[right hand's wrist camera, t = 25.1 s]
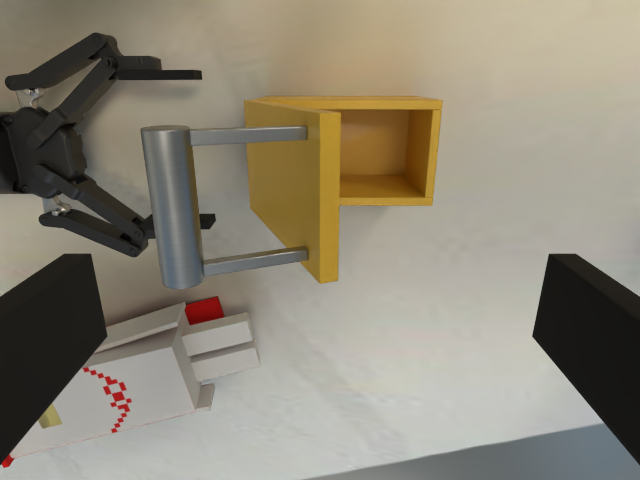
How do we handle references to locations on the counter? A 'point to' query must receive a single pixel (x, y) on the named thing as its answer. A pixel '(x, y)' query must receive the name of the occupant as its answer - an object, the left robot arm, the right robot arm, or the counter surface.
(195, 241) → the yellow block with rod
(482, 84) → the counter surface
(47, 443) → the toy
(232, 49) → the counter surface
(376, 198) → the yellow open-ended box
